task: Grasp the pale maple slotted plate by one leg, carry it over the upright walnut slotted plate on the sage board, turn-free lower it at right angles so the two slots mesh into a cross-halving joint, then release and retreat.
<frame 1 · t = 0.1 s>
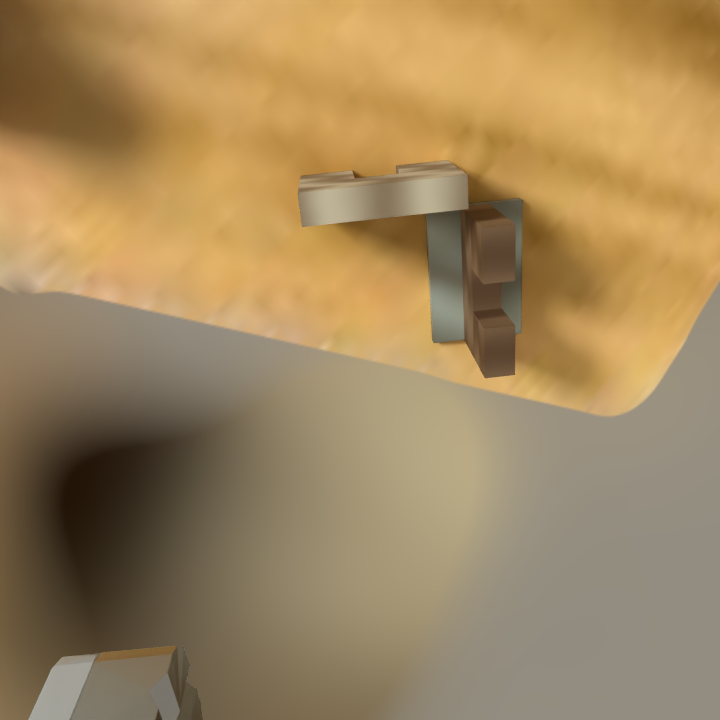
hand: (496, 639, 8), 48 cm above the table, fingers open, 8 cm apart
maple cross plate: (375, 183, 53), on the table
walnut slotted plate: (474, 271, 56), on the table
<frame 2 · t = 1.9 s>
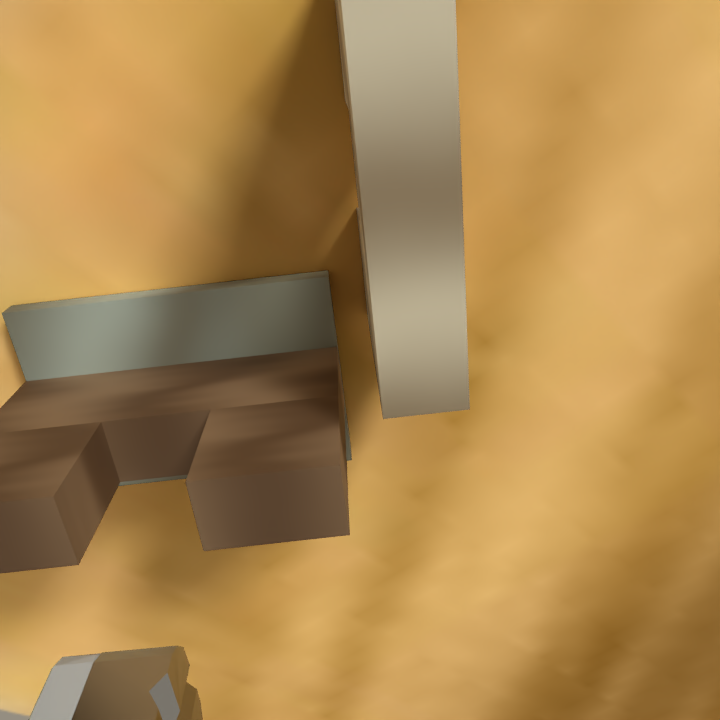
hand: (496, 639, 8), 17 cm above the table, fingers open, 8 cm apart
maple cross plate: (385, 152, 22), on the table
walnut slotted plate: (192, 382, 26), on the table
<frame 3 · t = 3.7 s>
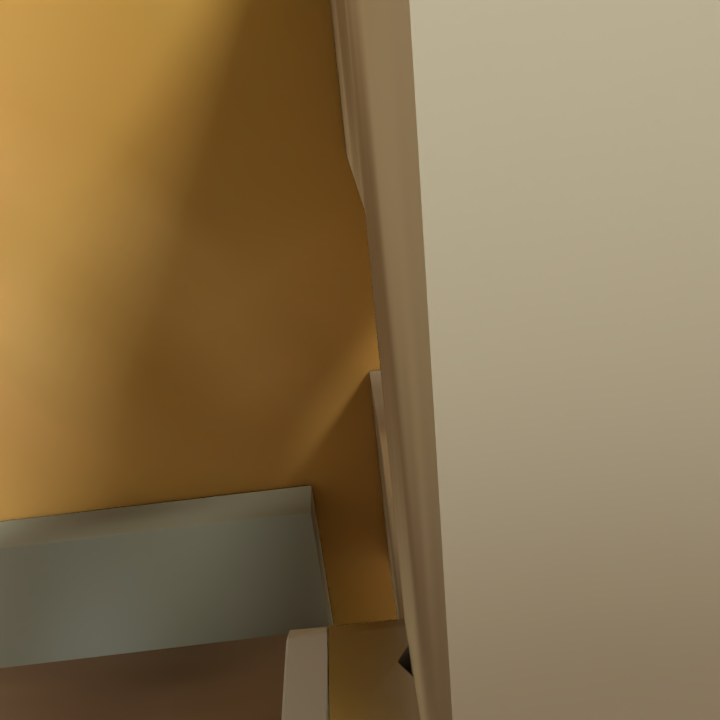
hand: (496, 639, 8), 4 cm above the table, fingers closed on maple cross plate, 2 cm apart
maple cross plate: (432, 262, 10), on the table, touching gripper
walnut slotted plate: (54, 674, 14), on the table
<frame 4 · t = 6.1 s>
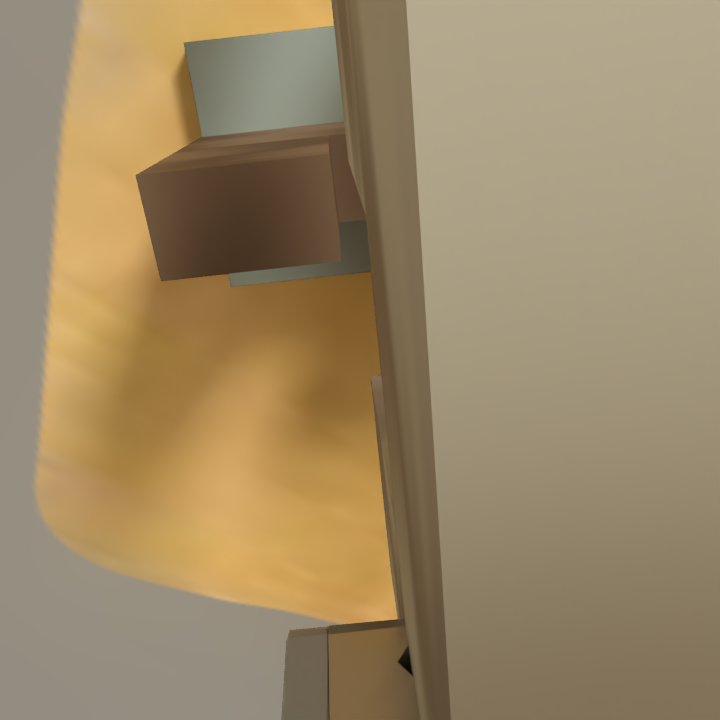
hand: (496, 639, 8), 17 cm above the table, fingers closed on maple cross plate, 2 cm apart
maple cross plate: (434, 267, 10), point 13 cm above the table, touching gripper
walnut slotted plate: (384, 151, 22), on the table
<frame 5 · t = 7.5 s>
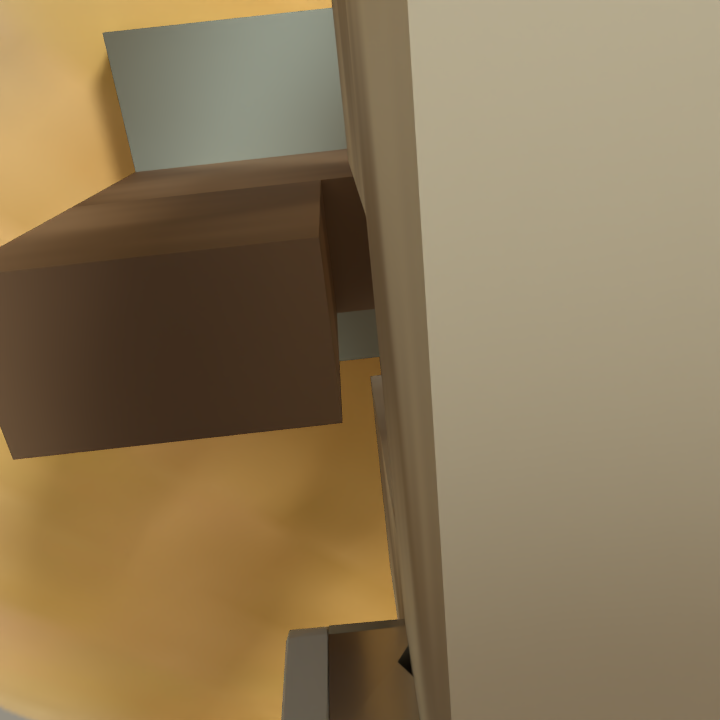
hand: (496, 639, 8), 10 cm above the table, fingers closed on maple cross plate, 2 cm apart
maple cross plate: (433, 268, 10), point 6 cm above the table, touching gripper
walnut slotted plate: (401, 190, 16), on the table
when the fingers open (5 cm above the table, at t = 8.7 s): maple cross plate stays where it is, resting on walnut slotted plate.
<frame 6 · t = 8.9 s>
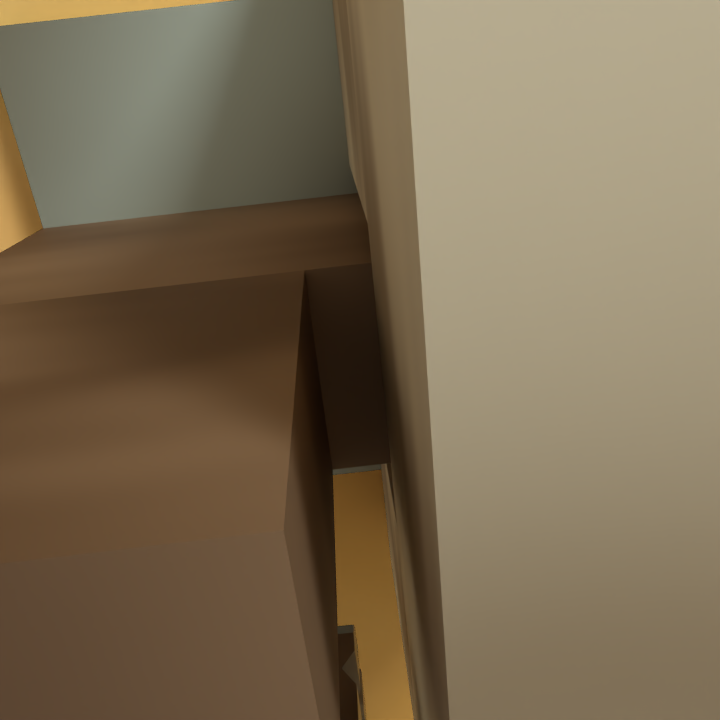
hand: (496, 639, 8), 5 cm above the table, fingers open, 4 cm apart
maple cross plate: (432, 268, 11), point 1 cm above the table, touching walnut slotted plate
walnut slotted plate: (421, 247, 11), on the table
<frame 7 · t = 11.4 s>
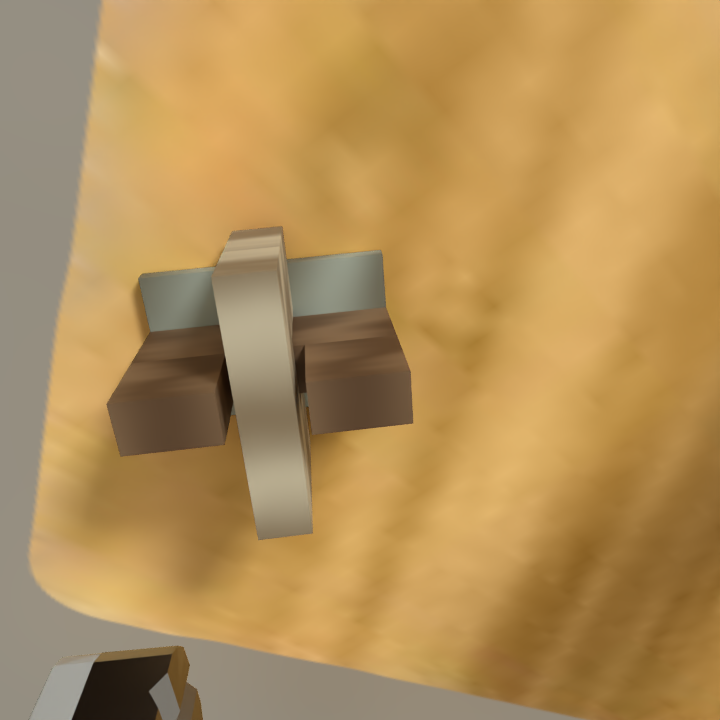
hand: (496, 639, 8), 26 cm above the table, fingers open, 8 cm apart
maple cross plate: (274, 343, 33), point 1 cm above the table, touching walnut slotted plate
walnut slotted plate: (272, 335, 34), on the table
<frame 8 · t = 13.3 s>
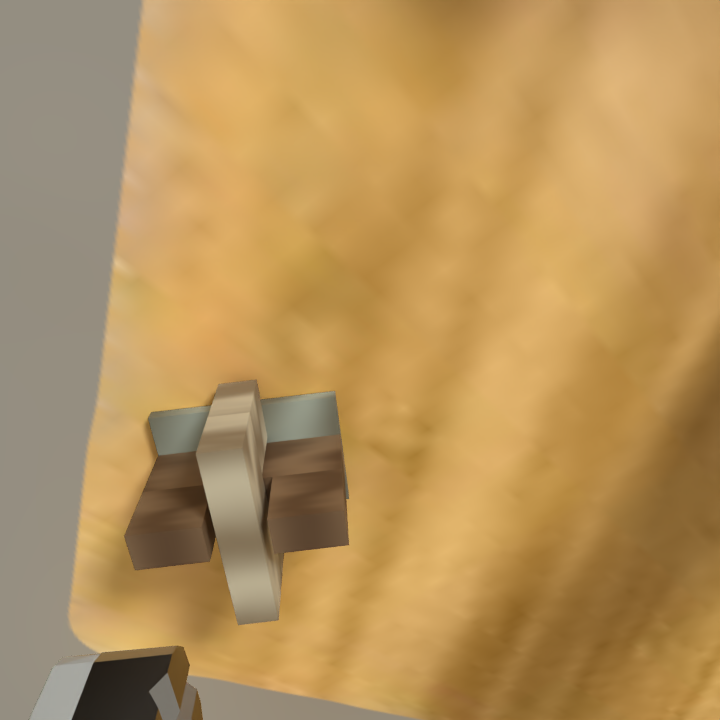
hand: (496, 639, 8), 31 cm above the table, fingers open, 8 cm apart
maple cross plate: (253, 462, 43), point 1 cm above the table, touching walnut slotted plate
walnut slotted plate: (253, 453, 43), on the table
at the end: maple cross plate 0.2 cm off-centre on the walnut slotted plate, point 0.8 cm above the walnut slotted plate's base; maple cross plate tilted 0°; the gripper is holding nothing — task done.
